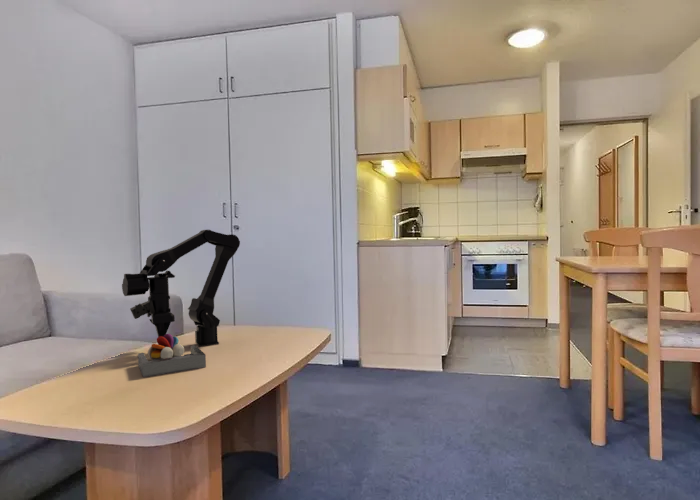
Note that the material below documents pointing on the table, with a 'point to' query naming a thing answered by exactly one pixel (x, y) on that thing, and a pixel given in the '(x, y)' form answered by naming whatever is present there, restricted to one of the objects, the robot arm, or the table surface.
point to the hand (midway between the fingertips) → (161, 341)
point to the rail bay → (172, 363)
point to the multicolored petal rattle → (166, 347)
